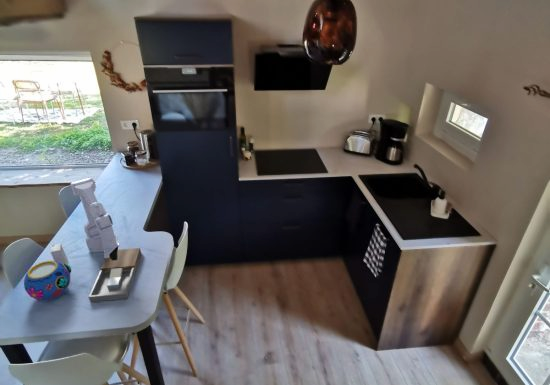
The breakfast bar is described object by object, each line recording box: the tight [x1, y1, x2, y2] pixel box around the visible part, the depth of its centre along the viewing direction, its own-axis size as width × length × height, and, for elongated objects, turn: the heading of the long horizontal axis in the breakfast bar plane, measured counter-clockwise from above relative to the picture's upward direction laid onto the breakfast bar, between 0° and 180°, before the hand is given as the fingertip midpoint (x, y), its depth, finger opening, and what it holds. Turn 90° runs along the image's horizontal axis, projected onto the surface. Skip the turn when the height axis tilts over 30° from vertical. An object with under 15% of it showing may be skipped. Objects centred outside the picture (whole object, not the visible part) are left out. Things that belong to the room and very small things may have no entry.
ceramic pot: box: [23, 260, 72, 302], centre depth 153 cm, size 18×18×15 cm
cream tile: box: [110, 268, 123, 279], centre depth 165 cm, size 5×5×2 cm
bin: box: [88, 268, 137, 303], centre depth 160 cm, size 16×18×4 cm
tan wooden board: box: [100, 247, 142, 272], centre depth 173 cm, size 16×14×4 cm
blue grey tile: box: [107, 277, 121, 289], centre depth 161 cm, size 5×5×2 cm
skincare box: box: [50, 243, 69, 265], centre depth 169 cm, size 6×4×12 cm
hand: (114, 259), depth 163 cm, fingers closed
